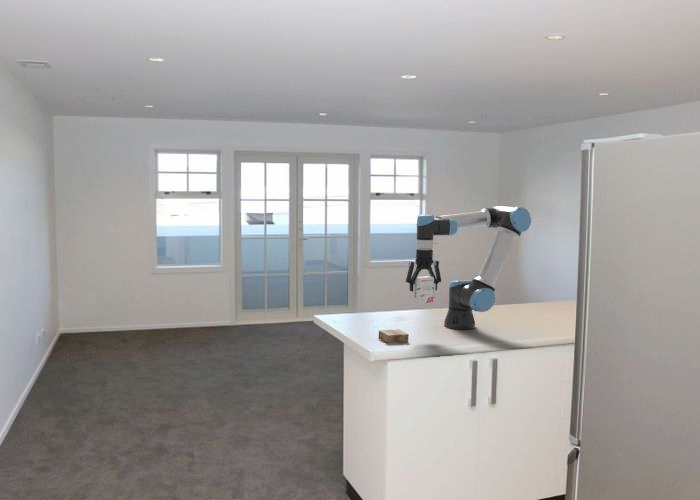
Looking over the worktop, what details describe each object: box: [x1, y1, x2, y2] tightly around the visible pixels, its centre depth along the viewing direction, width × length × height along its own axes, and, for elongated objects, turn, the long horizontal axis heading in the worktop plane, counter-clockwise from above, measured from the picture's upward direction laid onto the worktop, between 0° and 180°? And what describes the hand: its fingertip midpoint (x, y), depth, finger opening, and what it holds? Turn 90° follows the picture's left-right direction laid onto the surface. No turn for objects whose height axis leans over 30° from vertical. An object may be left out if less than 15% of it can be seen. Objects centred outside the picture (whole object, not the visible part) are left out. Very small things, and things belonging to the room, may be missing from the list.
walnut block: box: [378, 329, 409, 344], centre depth 299 cm, size 10×10×4 cm
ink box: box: [412, 275, 434, 305], centre depth 307 cm, size 9×5×12 cm, turn 122°
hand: (423, 297), depth 308 cm, fingers closed on ink box, 9 cm apart
